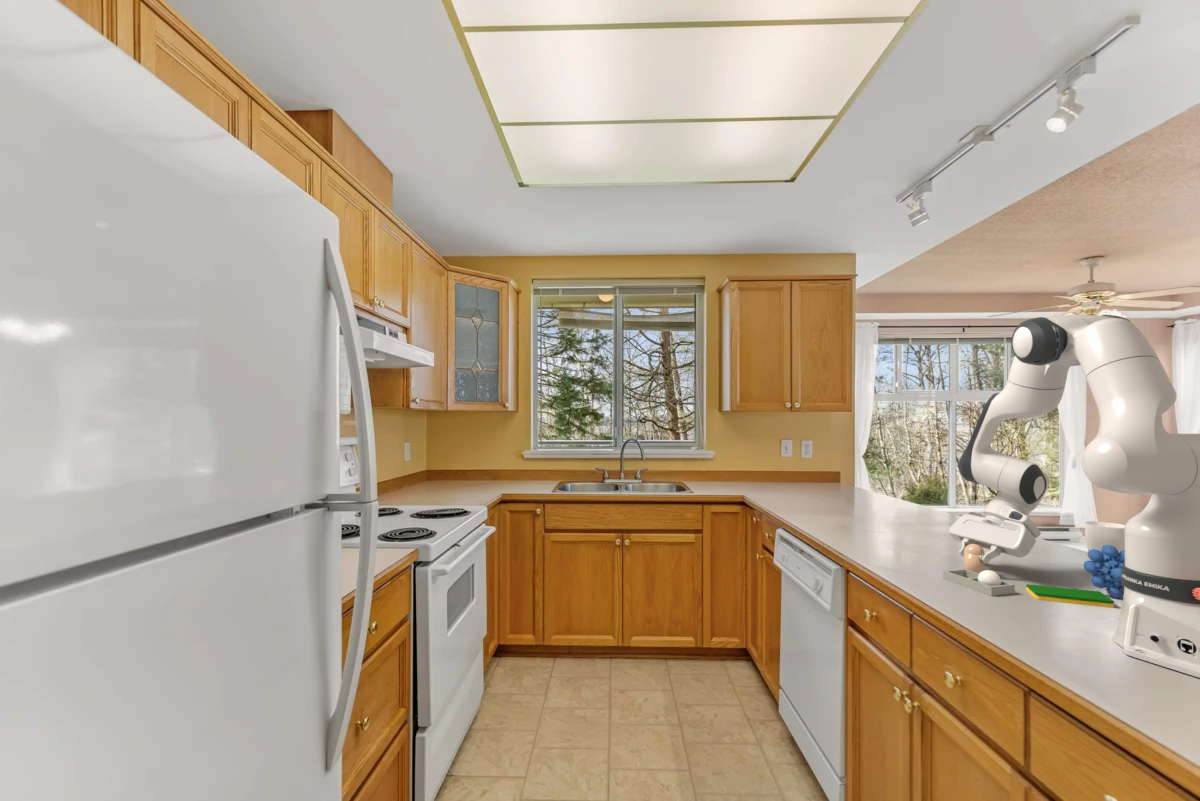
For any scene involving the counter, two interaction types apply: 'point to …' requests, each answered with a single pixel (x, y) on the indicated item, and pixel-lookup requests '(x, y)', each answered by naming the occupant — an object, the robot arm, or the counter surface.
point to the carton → (971, 581)
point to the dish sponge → (1070, 596)
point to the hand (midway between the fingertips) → (972, 558)
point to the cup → (1104, 535)
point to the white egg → (989, 578)
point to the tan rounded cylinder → (973, 558)
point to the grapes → (1106, 569)
